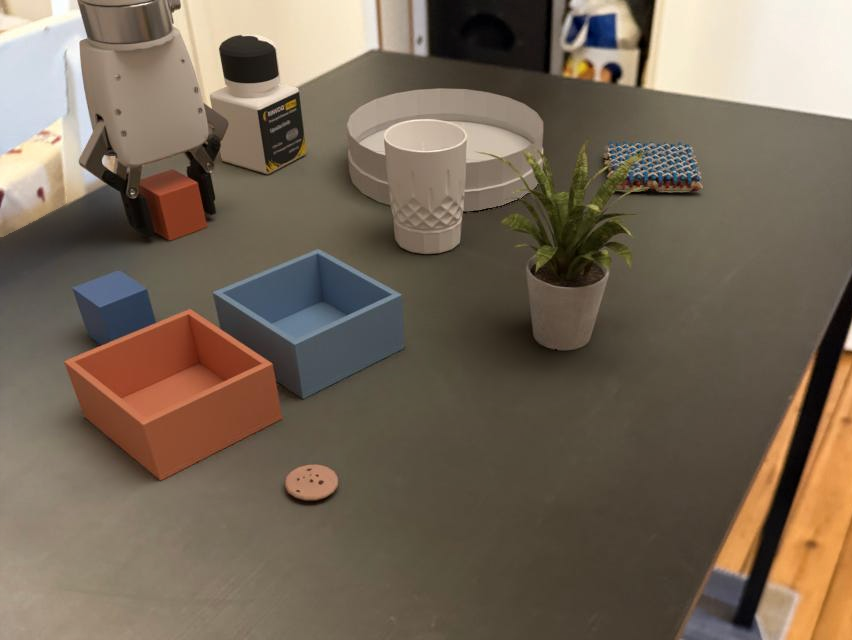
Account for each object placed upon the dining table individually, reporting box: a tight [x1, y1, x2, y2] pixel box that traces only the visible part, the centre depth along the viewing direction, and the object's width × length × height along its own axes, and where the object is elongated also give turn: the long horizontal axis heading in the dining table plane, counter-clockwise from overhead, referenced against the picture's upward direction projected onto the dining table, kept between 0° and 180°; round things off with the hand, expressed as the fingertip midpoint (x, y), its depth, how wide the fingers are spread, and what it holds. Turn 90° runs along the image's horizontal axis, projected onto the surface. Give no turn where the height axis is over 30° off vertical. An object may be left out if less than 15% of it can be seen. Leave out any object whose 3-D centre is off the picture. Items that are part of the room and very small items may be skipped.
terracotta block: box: [139, 168, 208, 242], centre depth 93 cm, size 4×4×4 cm
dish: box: [346, 88, 544, 211], centre depth 103 cm, size 22×22×5 cm
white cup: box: [383, 119, 467, 255], centre depth 90 cm, size 8×8×10 cm
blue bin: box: [212, 248, 406, 400], centre depth 78 cm, size 11×11×5 cm
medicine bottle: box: [209, 33, 307, 175], centre depth 102 cm, size 7×7×12 cm
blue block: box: [72, 270, 157, 346], centre depth 79 cm, size 4×4×4 cm
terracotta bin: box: [63, 308, 283, 481], centre depth 71 cm, size 11×11×5 cm
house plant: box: [474, 135, 650, 351], centre depth 76 cm, size 14×14×16 cm
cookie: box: [284, 464, 339, 501], centre depth 67 cm, size 4×4×1 cm
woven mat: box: [602, 140, 704, 192], centre depth 104 cm, size 10×11×2 cm
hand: (175, 219), depth 95 cm, fingers open, 6 cm apart
